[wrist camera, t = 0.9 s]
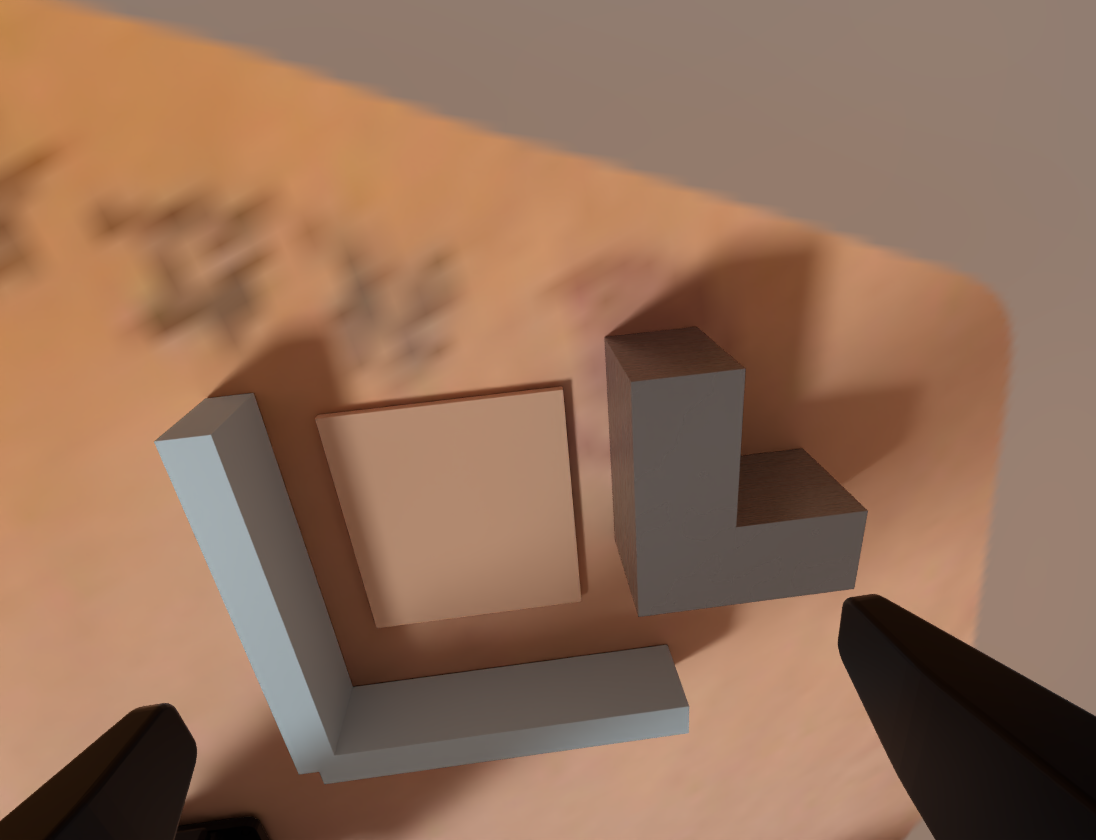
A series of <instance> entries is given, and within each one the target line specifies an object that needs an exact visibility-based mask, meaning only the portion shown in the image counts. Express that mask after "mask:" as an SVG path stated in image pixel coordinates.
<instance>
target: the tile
mask: <svg viewBox="0 0 1096 840" xmlns="http://www.w3.org/2000/svg"><path fill="white" fill-rule="evenodd" d="M315 421H316V424H317V427H318V431H319V434H320V438H321V441H322V444H323V448H324V451H325V455H326V458H327V461H328V465H329V468H330V472H331V475H332V478H333V482H334V485H335V489H336V492H337V495H338V499H339V502H340V506H341V509H342V512H343V516H344V519H345V523H346V526H347V529H348V533H349V536H350V540H351V543H352V546H353V550H354V553H355V557H356V560H357V563H358V567H359V570H360V574H361V577H362V580H363V584H364V587H365V591H366V594H367V597H368V601H369V604H370V608H371V611H372V614H373V618H374V621H375V625H376V628H384V627H392V626H399V625H407V624H415V623H422V622H430V621H437V620H445V619H453V618H460V617H468V616H475V615H483V614H491V613H498V612H506V611H514V610H521V609H529V608H536V607H544V606H552V605H559V604H567V603H574V602H581V591H580V580H579V568H578V557H577V545H576V534H575V523H574V511H573V500H572V488H571V477H570V465H569V454H568V442H567V431H566V419H565V408H564V397H563V388H562V386H561V387H552V388H544V389H535V390H527V391H518V392H509V393H501V394H492V395H484V396H475V397H467V398H458V399H450V400H441V401H433V402H424V403H416V404H407V405H399V406H390V407H382V408H373V409H364V410H356V411H347V412H339V413H330V414H322V415H317V417H316V418H315Z"/></svg>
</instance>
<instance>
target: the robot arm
mask: <svg viewBox="0 0 1096 840" xmlns="http://www.w3.org/2000/svg"><path fill="white" fill-rule="evenodd" d="M838 649H839V653H840V656H841V659H842V661H843V664H844V666H845V668H846V670H847V672H848V674H849V676H850V678H851V680H852V682H853V684H854V687H855V689H856V691H857V693H858V695H859V697H860V699H861V701H862V703H863V705H864V707H865V710H866V712H867V714H868V716H869V718H870V720H871V722H872V724H873V726H874V728H875V731H876V733H877V735H878V737H879V739H880V741H881V743H882V745H883V747H884V749H885V751H886V754H887V756H888V758H889V760H890V762H891V764H892V765H893V767H894V769H895V771H896V773H897V775H898V777H899V779H900V781H901V782H902V784H903V786H904V788H905V789H906V791H907V793H908V795H909V796H910V798H911V800H912V801H913V803H914V805H915V806H916V808H917V810H918V811H919V813H920V815H921V816H922V818H923V820H924V821H925V823H926V825H927V827H928V828H929V830H930V831H931V833H932V835H933V836H934V838H935V840H1096V716H1094V715H1093V714H1091V713H1089V712H1087V711H1085V710H1084V709H1082V708H1080V707H1078V706H1077V705H1075V704H1073V703H1071V702H1069V701H1068V700H1066V699H1064V698H1062V697H1061V696H1059V695H1057V694H1055V693H1053V692H1052V691H1050V690H1048V689H1046V688H1044V687H1043V686H1041V685H1039V684H1037V683H1036V682H1034V681H1032V680H1030V679H1028V678H1027V677H1025V676H1023V675H1021V674H1020V673H1018V672H1016V671H1014V670H1012V669H1011V668H1009V667H1007V666H1005V665H1003V664H1002V663H1000V662H998V661H996V660H995V659H993V658H991V657H989V656H988V655H986V654H984V653H982V652H980V651H979V650H977V649H975V648H973V647H972V646H970V645H968V644H966V643H964V642H963V641H961V640H959V639H957V638H955V637H954V636H952V635H950V634H948V633H947V632H945V631H943V630H941V629H939V628H938V627H936V626H934V625H932V624H931V623H929V622H927V621H925V620H923V619H922V618H920V617H918V616H916V615H915V614H913V613H911V612H909V611H907V610H906V609H904V608H902V607H900V606H899V605H897V604H895V603H893V602H891V601H890V600H888V599H886V598H884V597H882V596H880V595H877V594H869V595H862V596H856V597H850V598H847V599H846V600H845V602H844V603H843V607H842V613H841V621H840V629H839V636H838ZM196 758H197V747H196V742H195V740H194V738H193V736H192V735H191V733H190V731H189V730H188V728H187V726H186V725H185V723H184V721H183V720H182V718H181V716H180V715H179V713H178V711H177V710H176V708H175V707H174V706H173V705H171V704H169V703H162V704H155V705H149V706H143V707H139V708H136V709H134V710H132V711H131V712H129V713H128V714H127V715H126V716H124V717H123V718H122V719H121V720H120V721H119V722H117V723H116V724H115V725H114V726H113V727H111V728H110V729H109V730H108V731H107V732H105V733H104V734H103V735H102V736H101V737H100V738H98V739H97V740H96V741H95V742H94V743H92V744H91V745H90V746H89V747H88V748H86V749H85V750H84V751H83V752H82V753H80V754H79V755H78V756H77V757H76V758H75V759H73V760H72V761H71V762H70V763H69V764H67V765H66V766H65V767H64V768H63V769H61V770H60V771H59V772H58V773H57V774H56V775H54V776H53V777H52V778H51V779H50V780H48V781H47V782H46V783H45V784H44V785H42V786H41V787H40V788H39V789H38V790H37V791H35V792H34V793H33V794H32V795H31V796H29V797H28V798H27V799H26V800H25V801H23V802H22V803H21V804H20V805H19V806H18V807H16V808H15V809H14V810H13V811H12V812H10V813H9V814H8V815H7V816H6V817H4V818H3V819H2V820H1V821H0V840H269V838H268V836H267V834H266V832H265V830H264V828H263V826H262V824H261V822H260V821H259V820H258V819H256V818H254V817H241V818H233V819H226V820H219V821H212V822H205V823H198V824H191V825H184V826H178V824H179V821H180V817H181V814H182V810H183V807H184V803H185V799H186V796H187V792H188V789H189V785H190V782H191V778H192V774H193V771H194V767H195V764H196Z"/></svg>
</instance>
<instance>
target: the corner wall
mask: <svg viewBox="0 0 1096 840" xmlns="http://www.w3.org/2000/svg"><path fill="white" fill-rule="evenodd" d="M154 443H155V445H156V447H157V450H158V452H159V454H160V456H161V459H162V461H163V463H164V466H165V468H166V470H167V473H168V475H169V477H170V479H171V482H172V484H173V486H174V489H175V491H176V493H177V496H178V498H179V500H180V502H181V505H182V507H183V509H184V512H185V514H186V516H187V518H188V521H189V523H190V525H191V528H192V530H193V532H194V535H195V537H196V539H197V541H198V544H199V546H200V548H201V551H202V553H203V555H204V558H205V560H206V562H207V564H208V567H209V569H210V571H211V574H212V576H213V578H214V581H215V583H216V585H217V587H218V590H219V592H220V594H221V597H222V599H223V601H224V604H225V606H226V608H227V610H228V613H229V615H230V617H231V620H232V622H233V624H234V626H235V629H236V631H237V633H238V636H239V638H240V640H241V643H242V645H243V647H244V649H245V652H246V654H247V656H248V659H249V661H250V663H251V666H252V668H253V670H254V672H255V675H256V677H257V679H258V682H259V684H260V686H261V689H262V691H263V693H264V695H265V698H266V700H267V702H268V705H269V707H270V709H271V712H272V714H273V716H274V718H275V721H276V723H277V725H278V728H279V730H280V732H281V734H282V737H283V739H284V741H285V744H286V746H287V748H288V751H289V753H290V755H291V757H292V760H293V762H294V764H295V767H296V769H297V771H298V774H306V773H313V772H320V775H321V777H322V780H323V782H324V784H330V783H337V782H345V781H352V780H359V779H366V778H373V777H380V776H387V775H394V774H401V773H408V772H416V771H423V770H430V769H437V768H444V767H451V766H458V765H465V764H472V763H479V762H487V761H494V760H501V759H508V758H515V757H522V756H529V755H536V754H543V753H550V752H558V751H565V750H572V749H579V748H586V747H593V746H600V745H607V744H614V743H621V742H629V741H636V740H643V739H650V738H657V737H664V736H671V735H678V734H685V733H689V704H688V702H687V699H686V696H685V693H684V690H683V687H682V685H681V682H680V679H679V676H678V673H677V670H676V667H675V665H674V662H673V659H672V656H671V653H670V650H669V648H668V645H661V646H653V647H646V648H638V649H631V650H624V651H616V652H609V653H601V654H594V655H587V656H579V657H572V658H564V659H557V660H549V661H542V662H535V663H527V664H520V665H512V666H505V667H498V668H490V669H483V670H475V671H468V672H461V673H453V674H446V675H438V676H431V677H423V678H416V679H409V680H401V681H394V682H386V683H379V684H372V685H364V686H357V687H353V686H352V683H351V680H350V677H349V674H348V671H347V668H346V665H345V662H344V659H343V656H342V653H341V650H340V647H339V645H338V642H337V639H336V636H335V633H334V630H333V627H332V624H331V621H330V618H329V615H328V612H327V609H326V606H325V603H324V600H323V597H322V594H321V591H320V588H319V585H318V582H317V579H316V576H315V573H314V570H313V568H312V565H311V562H310V559H309V556H308V553H307V550H306V547H305V544H304V541H303V538H302V535H301V532H300V529H299V526H298V523H297V520H296V517H295V514H294V511H293V508H292V505H291V502H290V499H289V496H288V493H287V491H286V488H285V485H284V482H283V479H282V476H281V473H280V470H279V467H278V464H277V461H276V458H275V455H274V452H273V449H272V446H271V443H270V440H269V437H268V434H267V431H266V428H265V425H264V422H263V419H262V416H261V413H260V411H259V408H258V405H257V402H256V399H255V396H254V393H249V394H240V395H231V396H222V397H214V398H205V399H204V400H203V401H202V402H201V403H199V404H198V405H197V406H196V407H195V408H193V409H192V410H191V411H190V412H189V413H188V414H186V415H185V416H184V417H183V418H182V419H180V420H179V421H178V422H177V423H176V424H174V425H173V426H172V427H171V428H170V429H168V430H167V431H166V432H165V433H164V434H162V435H161V436H160V437H159V438H158V439H157V440H155V441H154Z"/></svg>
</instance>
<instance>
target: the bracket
mask: <svg viewBox="0 0 1096 840" xmlns="http://www.w3.org/2000/svg"><path fill="white" fill-rule="evenodd" d="M604 338H605V357H606V376H607V396H608V415H609V434H610V454H611V473H612V493H613V512H614V531H615V542H616V545H617V548H618V552H619V555H620V558H621V561H622V565H623V568H624V571H625V574H626V578H627V581H628V584H629V587H630V591H631V594H632V597H633V601H634V604H635V607H636V610H637V614H638V617H642V616H649V615H657V614H665V613H672V612H680V611H688V610H695V609H703V608H711V607H718V606H726V605H734V604H741V603H749V602H757V601H764V600H772V599H780V598H787V597H795V596H803V595H810V594H818V593H826V592H833V591H841V590H848V589H854V587H855V581H856V575H857V570H858V564H859V558H860V553H861V547H862V541H863V535H864V530H865V524H866V518H867V513H868V510H867V509H865V508H864V507H863V506H862V505H861V504H860V503H859V502H858V501H857V500H856V499H855V498H854V497H853V496H852V495H851V494H850V493H849V492H848V491H847V490H846V489H845V488H844V487H843V486H841V485H840V484H839V483H838V482H837V481H836V480H835V479H834V478H833V477H832V476H831V475H830V474H829V473H828V472H827V471H826V470H825V469H824V468H823V467H822V466H821V465H820V464H819V463H817V462H816V461H815V460H814V459H813V458H812V457H811V456H810V455H809V454H808V453H807V452H806V451H805V450H804V449H795V450H787V451H779V452H770V453H762V454H754V455H746V456H740V454H741V437H742V420H743V403H744V386H745V368H744V367H743V366H742V365H741V364H740V363H738V362H737V361H736V360H735V359H734V358H733V357H731V356H730V355H729V354H728V353H727V352H726V351H724V350H723V349H722V348H721V347H720V346H719V345H717V344H716V343H715V342H714V341H713V340H712V339H710V338H709V337H708V336H707V335H706V334H705V333H703V332H702V331H701V330H700V329H699V328H698V327H690V328H681V329H672V330H663V331H655V332H646V333H637V334H628V335H619V336H610V337H604Z"/></svg>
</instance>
